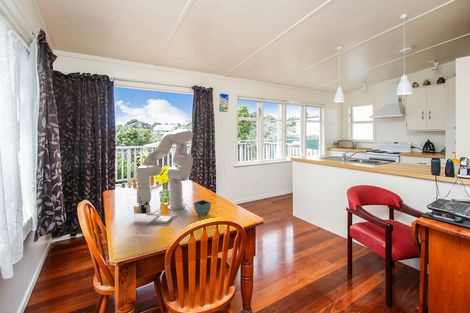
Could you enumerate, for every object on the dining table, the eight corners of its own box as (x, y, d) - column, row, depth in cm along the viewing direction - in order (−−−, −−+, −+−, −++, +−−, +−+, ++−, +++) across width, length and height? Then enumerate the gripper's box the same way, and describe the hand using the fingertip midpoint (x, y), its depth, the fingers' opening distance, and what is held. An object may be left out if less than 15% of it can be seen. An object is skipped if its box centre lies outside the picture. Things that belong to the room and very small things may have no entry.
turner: (132, 214, 146) (131, 207, 145) (138, 210, 153) (137, 203, 152) (157, 215, 143) (156, 207, 143) (162, 211, 150) (161, 204, 150)
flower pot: (201, 218, 152) (201, 205, 151) (193, 214, 158) (193, 202, 157) (211, 214, 158) (211, 202, 157) (203, 211, 164) (203, 199, 163)
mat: (158, 216, 156) (158, 215, 156) (177, 216, 154) (177, 216, 154) (146, 225, 140) (146, 224, 140) (167, 226, 138) (167, 226, 138)
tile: (160, 215, 151) (172, 216, 150) (160, 217, 151) (172, 218, 150) (155, 220, 143) (167, 221, 142) (155, 222, 144) (167, 223, 143)
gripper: (145, 182, 154) (146, 207, 157) (131, 188, 138) (132, 216, 141) (155, 182, 153) (156, 208, 156) (142, 188, 137) (144, 217, 140)
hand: (145, 212), depth 148 cm, fingers closed on turner, 2 cm apart
